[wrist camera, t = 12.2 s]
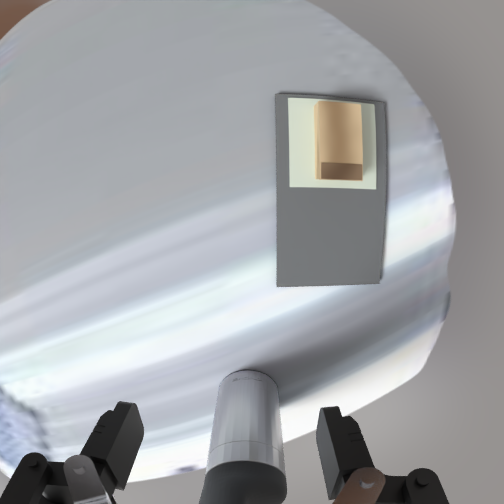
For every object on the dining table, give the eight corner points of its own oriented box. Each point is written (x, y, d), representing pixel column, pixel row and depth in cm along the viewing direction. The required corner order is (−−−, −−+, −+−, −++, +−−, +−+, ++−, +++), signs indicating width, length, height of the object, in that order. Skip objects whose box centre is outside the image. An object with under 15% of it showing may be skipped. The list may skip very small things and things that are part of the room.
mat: (377, 282, 39) (379, 284, 39) (276, 285, 39) (276, 287, 39) (382, 103, 33) (384, 102, 33) (275, 95, 34) (275, 93, 33)
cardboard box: (353, 109, 33) (361, 104, 30) (354, 180, 35) (362, 181, 32) (313, 106, 33) (318, 100, 30) (315, 179, 35) (320, 179, 32)
